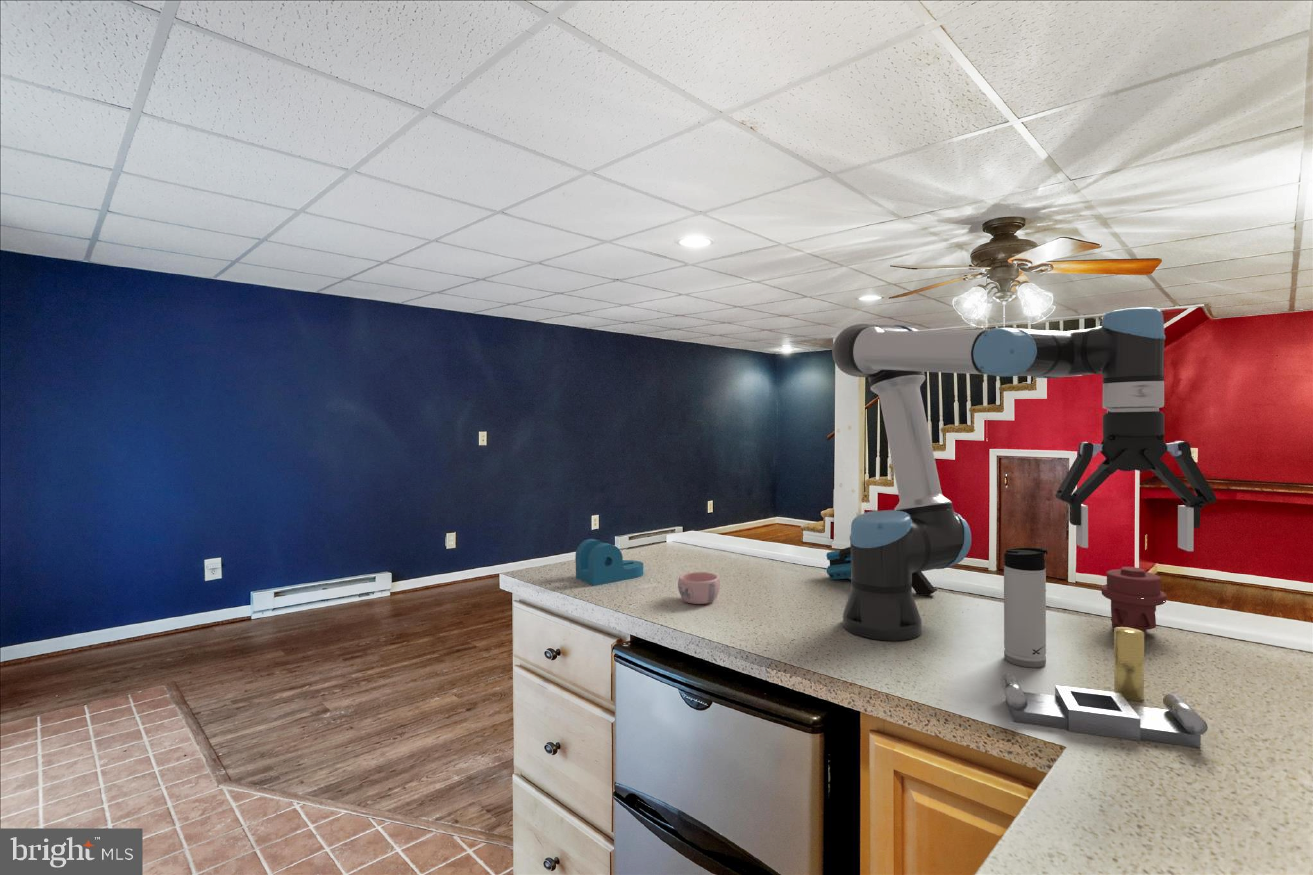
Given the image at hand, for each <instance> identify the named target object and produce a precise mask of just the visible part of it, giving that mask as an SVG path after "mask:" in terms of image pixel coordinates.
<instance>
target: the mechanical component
mask: <svg viewBox="0 0 1313 875" xmlns="http://www.w3.org/2000/svg"><path fill="white" fill-rule="evenodd" d="M1161 579H1162V578H1161V576H1159V575H1158V574H1155V573H1152V572H1149V571H1148V572H1147V571H1146V569H1144V568H1139V567H1135V566H1122V567H1121V568H1119V569H1116V568H1115V569H1110V570H1108V571H1107V570H1106V584H1104V585H1102V586H1101V595H1102V596H1103V597H1104V598H1106V599H1108V600H1109V601H1110V616H1111V617H1110V621H1111V627H1112V629H1114V628H1116V627H1128V628H1133V629H1137V630H1140V631H1142V632H1144V638H1145V637H1147V636H1146V635H1147V634H1146V633H1147V632H1146V631H1147V630H1149V631H1150V630H1153V629H1155V628H1156V627H1157V622H1156V620H1157V618H1156V612H1157V606H1161V605H1164V604H1165V603H1166V602H1167V594H1166V593H1165V592H1164V591H1163V590H1161V589H1162V587H1161ZM1141 598H1144V599H1141ZM1163 601H1165V602H1163Z"/></svg>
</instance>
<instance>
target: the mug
mask: <svg viewBox="0 0 1313 875" xmlns="http://www.w3.org/2000/svg"><path fill="white" fill-rule="evenodd" d="M720 582H721V581H720V578H719V576H718V575H716V574H715V573H713V572H706V571H705V572H704V571H694V572H686V573H683V574H681V575H680V576H679V577H678V581H677V589H678V592H679V595H680V597H681V599H682V600H683V601H684V602H686V603H689V604H693V605H705V604H710V603H713V602H714V601H716V599H717V598H718V596H719V593H720V587H721V583H720Z"/></svg>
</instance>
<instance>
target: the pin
mask: <svg viewBox="0 0 1313 875" xmlns="http://www.w3.org/2000/svg"><path fill="white" fill-rule="evenodd" d="M1113 636H1114V637H1113V645H1114V646H1113V651H1114V652H1113V676H1114V677H1113V684H1114V685H1113V688H1114V689H1113V692H1116V693H1121V695H1122V696H1123V697H1124V698H1125V700H1126V701H1130V702H1143V701H1144V700H1145V637H1144V632H1142V631H1140V630H1137V629H1133V628H1128V627H1116V628H1114V630H1113Z"/></svg>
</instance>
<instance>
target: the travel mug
mask: <svg viewBox="0 0 1313 875" xmlns="http://www.w3.org/2000/svg"><path fill="white" fill-rule="evenodd" d="M1003 554H1004V555H1003V558H1004V559H1003V560H1004V561H1003V639H1004V640H1003V645H1004V646H1003V647H1004V649H1003V653H1004V654H1003V655H1004V656H1003V657H1004V659H1005V661H1007V662H1009V663H1010V664H1012V665H1015V666H1018V667H1022V668H1028V669H1029V668H1031V669H1036V668H1042V667H1044V666H1045V665H1046V664H1047V655H1046V654H1047V617H1046V616H1047V615H1046V614H1047V608H1046V607H1047V593H1046V592H1047V589H1046V588H1047V584H1046V583H1047V580H1046V579H1047V577H1046V576H1047V573H1046V571H1047V568H1046V559H1045V555H1049V550H1048V549H1047V548H1045V547H1040V548H1039V547H1015V548H1008V549H1007V550H1005V551H1004V552H1003Z"/></svg>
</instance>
